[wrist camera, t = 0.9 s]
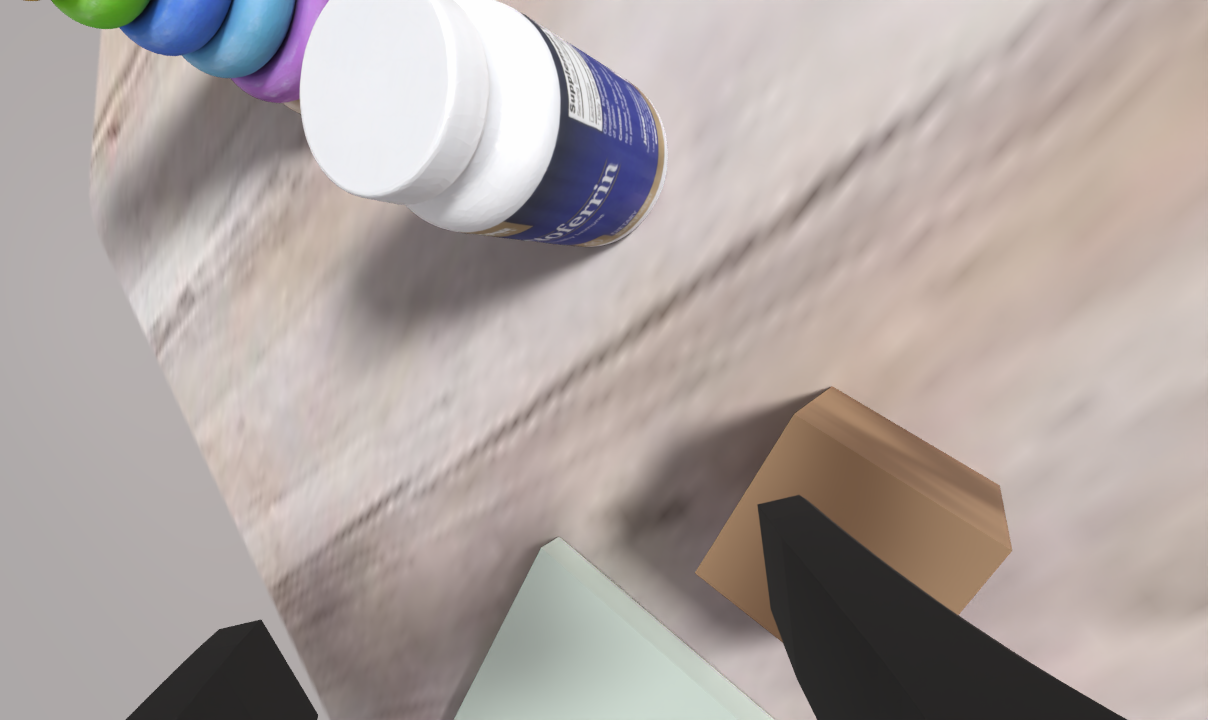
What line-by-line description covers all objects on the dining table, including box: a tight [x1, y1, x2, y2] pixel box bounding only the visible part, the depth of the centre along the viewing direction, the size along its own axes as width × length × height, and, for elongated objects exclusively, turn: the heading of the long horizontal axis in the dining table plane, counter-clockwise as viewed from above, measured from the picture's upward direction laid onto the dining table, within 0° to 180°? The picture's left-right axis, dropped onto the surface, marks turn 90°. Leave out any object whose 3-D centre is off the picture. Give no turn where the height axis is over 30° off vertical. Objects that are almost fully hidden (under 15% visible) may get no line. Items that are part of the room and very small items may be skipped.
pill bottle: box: [300, 0, 668, 247], centre depth 18 cm, size 6×6×10 cm
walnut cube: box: [695, 387, 1012, 642], centre depth 17 cm, size 5×5×5 cm
